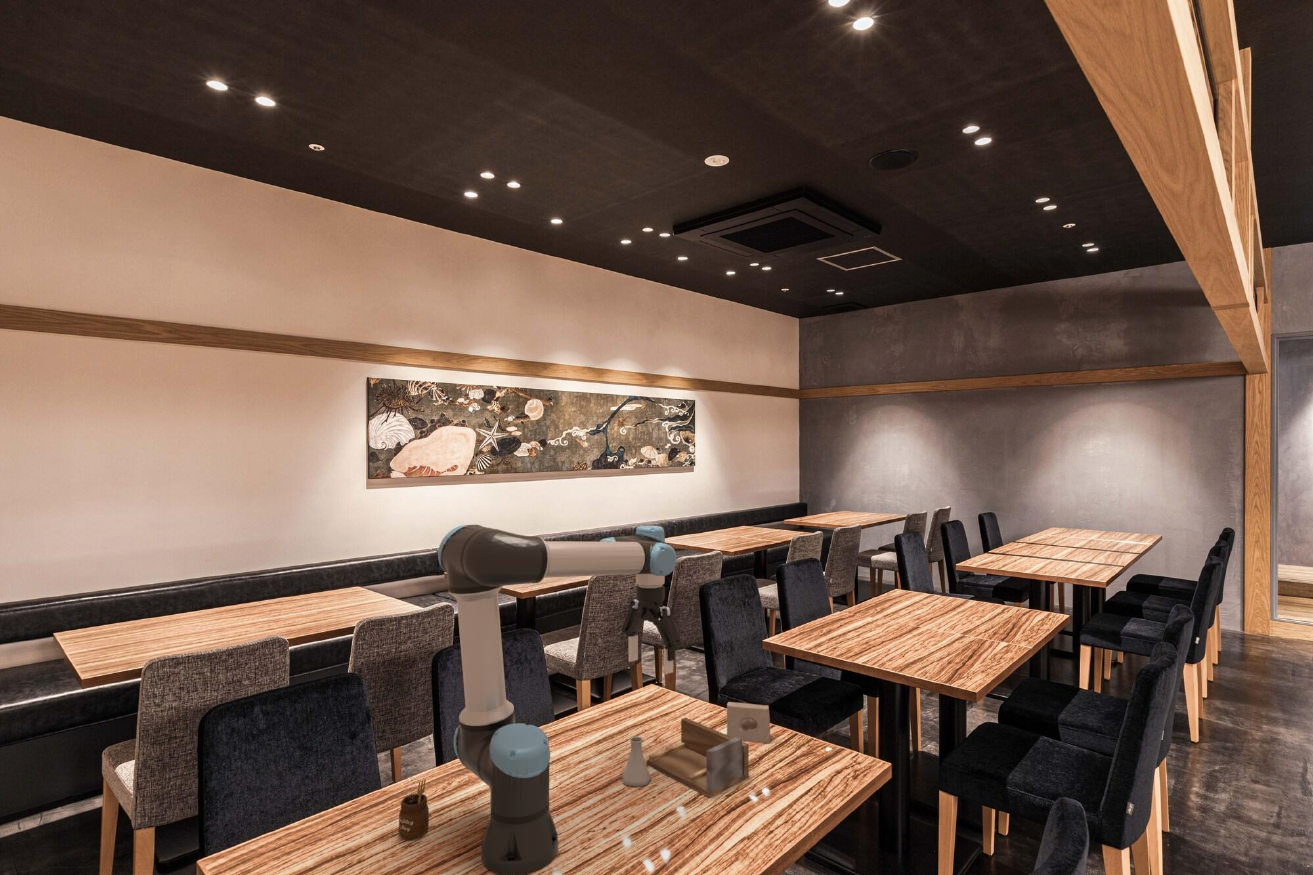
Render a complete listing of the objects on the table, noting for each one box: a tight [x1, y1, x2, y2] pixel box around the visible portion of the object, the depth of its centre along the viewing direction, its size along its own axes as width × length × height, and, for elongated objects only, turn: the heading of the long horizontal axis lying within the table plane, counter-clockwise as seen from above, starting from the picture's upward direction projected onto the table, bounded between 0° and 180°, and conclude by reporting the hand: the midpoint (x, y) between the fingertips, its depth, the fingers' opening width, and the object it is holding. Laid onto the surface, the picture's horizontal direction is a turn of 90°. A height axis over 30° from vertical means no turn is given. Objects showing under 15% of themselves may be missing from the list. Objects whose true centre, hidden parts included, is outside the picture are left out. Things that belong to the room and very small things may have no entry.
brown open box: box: [646, 717, 750, 799], centre depth 164 cm, size 14×22×10 cm, turn 42°
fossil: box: [726, 701, 772, 744], centre depth 183 cm, size 12×4×10 cm, turn 78°
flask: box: [621, 735, 652, 787], centre depth 160 cm, size 7×7×10 cm
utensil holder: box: [398, 776, 430, 841], centre depth 138 cm, size 6×6×12 cm
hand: (650, 666), depth 171 cm, fingers open, 13 cm apart
